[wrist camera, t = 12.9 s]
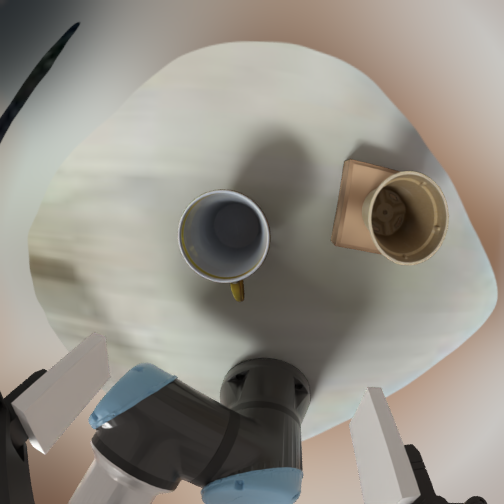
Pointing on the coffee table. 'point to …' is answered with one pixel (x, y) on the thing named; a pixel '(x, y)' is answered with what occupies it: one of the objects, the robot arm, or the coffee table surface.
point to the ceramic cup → (224, 237)
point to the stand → (357, 204)
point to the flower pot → (407, 217)
